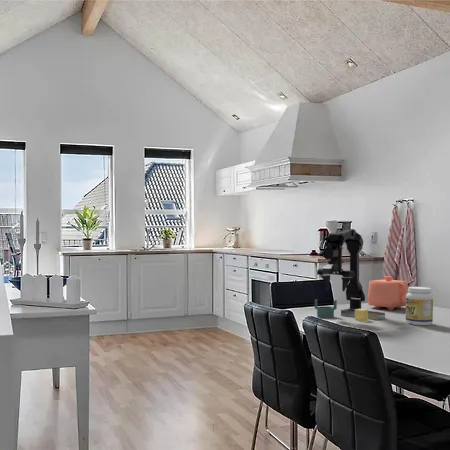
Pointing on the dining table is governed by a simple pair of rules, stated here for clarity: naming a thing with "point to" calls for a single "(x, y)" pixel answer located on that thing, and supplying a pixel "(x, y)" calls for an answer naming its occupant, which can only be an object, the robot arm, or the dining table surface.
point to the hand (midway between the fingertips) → (335, 290)
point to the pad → (361, 321)
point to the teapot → (387, 293)
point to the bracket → (325, 310)
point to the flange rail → (371, 314)
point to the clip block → (361, 314)
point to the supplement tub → (419, 306)
